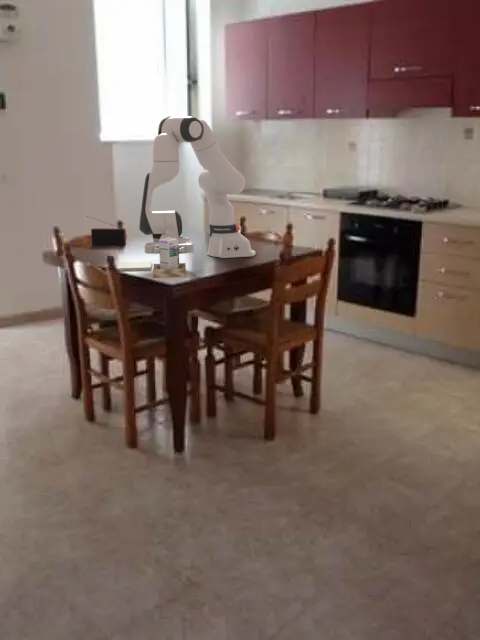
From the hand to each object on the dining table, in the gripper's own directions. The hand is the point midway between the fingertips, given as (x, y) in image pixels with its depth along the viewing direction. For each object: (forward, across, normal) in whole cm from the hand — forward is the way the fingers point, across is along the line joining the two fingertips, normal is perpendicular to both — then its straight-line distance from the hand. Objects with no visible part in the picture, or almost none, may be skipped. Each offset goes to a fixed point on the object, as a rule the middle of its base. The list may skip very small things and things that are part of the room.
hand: (169, 251), depth 296 cm
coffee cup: (-68, -5, +10) cm, 69 cm away
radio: (-72, -32, +10) cm, 79 cm away
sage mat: (-16, -15, +10) cm, 24 cm away
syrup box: (-1, 0, +10) cm, 10 cm away
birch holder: (-1, 0, +10) cm, 10 cm away
